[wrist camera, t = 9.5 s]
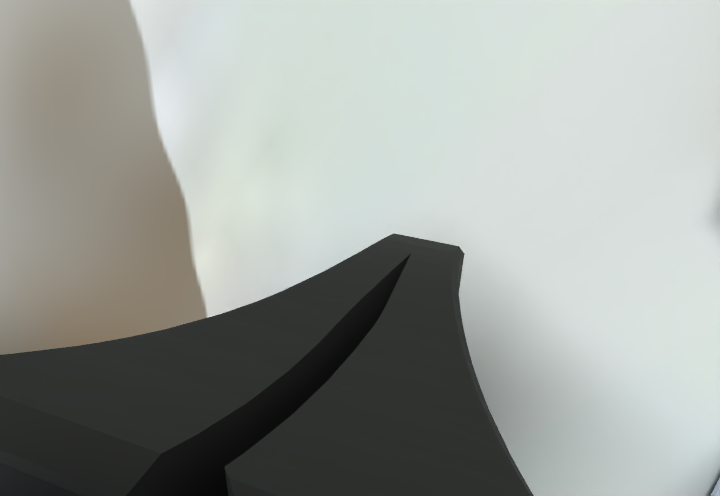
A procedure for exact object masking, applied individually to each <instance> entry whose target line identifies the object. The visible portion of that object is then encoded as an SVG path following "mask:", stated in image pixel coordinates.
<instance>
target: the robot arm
mask: <svg viewBox="0 0 720 496" xmlns="http://www.w3.org/2000/svg"><path fill="white" fill-rule="evenodd" d="M463 258H464V253H463V251H462V250H461V249H460V247H459V246H454V245H449V244H444V243H439V242H434V241H429V240H424V239H419V238H414V237H409V236H404V235H399V234H392V235H390V236H388V237H386V238H384V239H382V240H380V241H378V242H377V243H375V244H373V245H371V246H369V247H368V248H366V249H364V250H362V251H361V252H359V253H357V254H355V255H353V256H352V257H350V258H348V259H346V260H344V261H342V262H341V263H339V264H337V265H335V266H333V267H331V268H329V269H328V270H326V271H324V272H322V273H320V274H318V275H315V276H313V277H311V278H309V279H307V280H305V281H303V282H301V283H299V284H296V285H294V286H292V287H290V288H288V289H286V290H284V291H282V292H279V293H277V294H274V295H272V296H270V297H267V298H265V299H262V300H260V301H257V302H254V303H251V304H249V305H246V306H243V307H240V308H237V309H235V310H232V311H229V312H226V313H223V314H220V315H216V316H212V317H209V318H205V319H201V320H198V321H194V322H191V323H187V324H183V325H180V326H176V327H173V328H169V329H165V330H161V331H156V332H151V333H147V334H142V335H137V336H133V337H128V338H122V339H117V340H112V341H105V342H100V343H94V344H87V345H81V346H75V347H66V348H58V349H49V350H41V351H33V352H24V353H16V354H7V355H0V496H533V494H532V492H531V491H530V489H529V487H528V485H527V484H526V482H525V480H524V478H523V477H522V475H521V473H520V471H519V469H518V468H517V466H516V464H515V462H514V461H513V459H512V457H511V455H510V453H509V451H508V449H507V447H506V445H505V443H504V440H503V438H502V436H501V434H500V432H499V430H498V428H497V426H496V424H495V422H494V420H493V417H492V415H491V413H490V411H489V409H488V406H487V404H486V401H485V399H484V396H483V394H482V391H481V388H480V386H479V383H478V380H477V377H476V374H475V371H474V368H473V365H472V362H471V358H470V355H469V351H468V347H467V343H466V338H465V334H464V329H463V324H462V318H461V312H460V303H459V294H458V293H459V286H460V279H461V272H462V265H463ZM710 496H720V478H719V480H718V482H717V484H716V486H715V488H714V490H713V492H712V493H711V495H710Z"/></svg>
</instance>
